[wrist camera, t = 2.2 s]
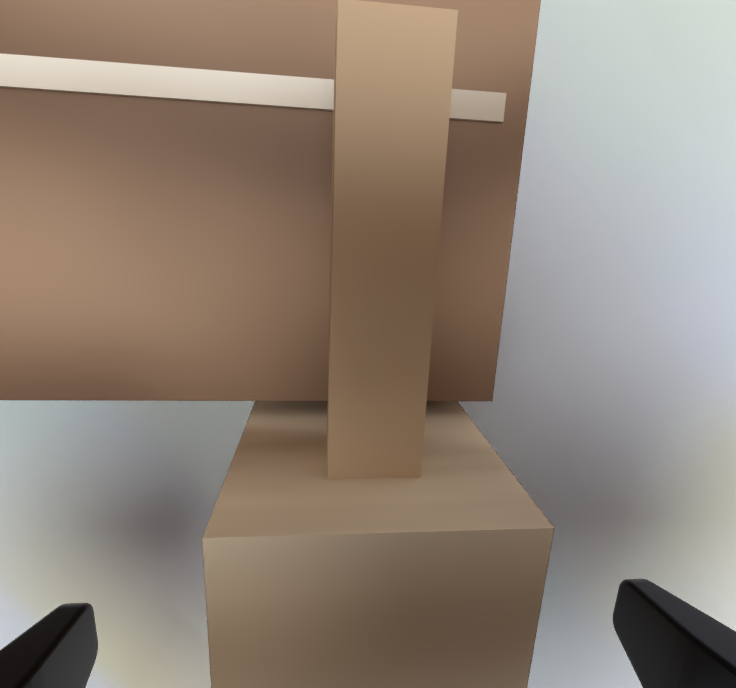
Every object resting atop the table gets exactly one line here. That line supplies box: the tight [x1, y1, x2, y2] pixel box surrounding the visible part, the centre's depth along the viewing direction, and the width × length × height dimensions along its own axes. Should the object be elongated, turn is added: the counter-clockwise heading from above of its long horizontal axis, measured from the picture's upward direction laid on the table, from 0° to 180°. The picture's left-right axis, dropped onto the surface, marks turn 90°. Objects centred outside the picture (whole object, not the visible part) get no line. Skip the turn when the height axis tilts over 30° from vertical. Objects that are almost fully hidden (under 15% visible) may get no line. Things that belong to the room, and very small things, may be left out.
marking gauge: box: [202, 0, 554, 688], centre depth 9 cm, size 11×5×6 cm, turn 178°
